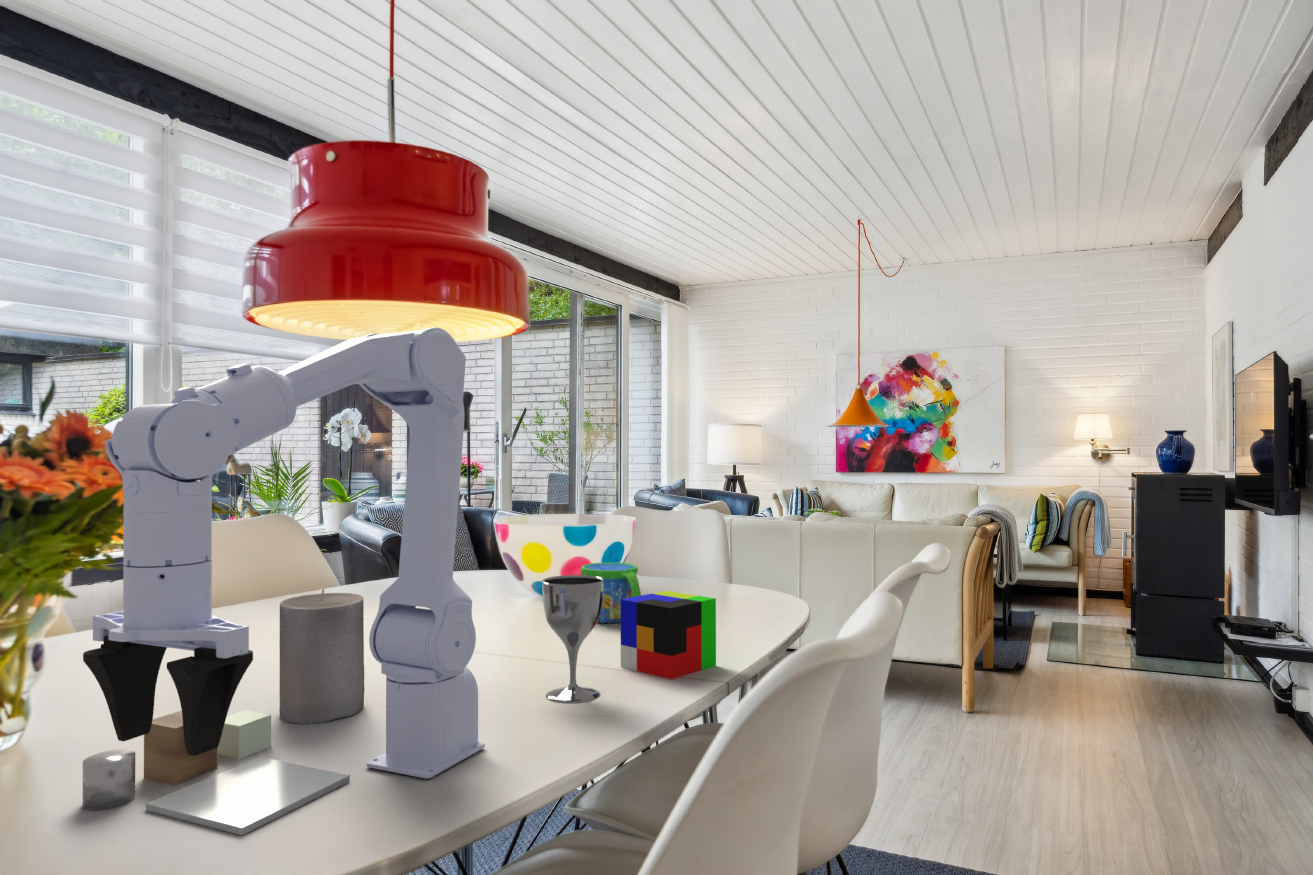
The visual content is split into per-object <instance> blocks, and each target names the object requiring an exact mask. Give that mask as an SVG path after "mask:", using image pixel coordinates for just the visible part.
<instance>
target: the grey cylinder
mask: <svg viewBox="0 0 1313 875" xmlns="http://www.w3.org/2000/svg"><path fill="white" fill-rule="evenodd" d="M135 798H136V751H135V750H133V749H124V748H123V749H112V750H108V751H107V750H105V751H101V752H99V753H96V754H92V755H90V756H88V757H86V758H85V759H84V760H83V761H82V809H83V810H85V811H89V812H99V811H100V812H101V811H108V810H112V809H117V808H120V807H123V806H125V805H127V804H129V803H131V802H133V801H134V799H135Z"/></svg>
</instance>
